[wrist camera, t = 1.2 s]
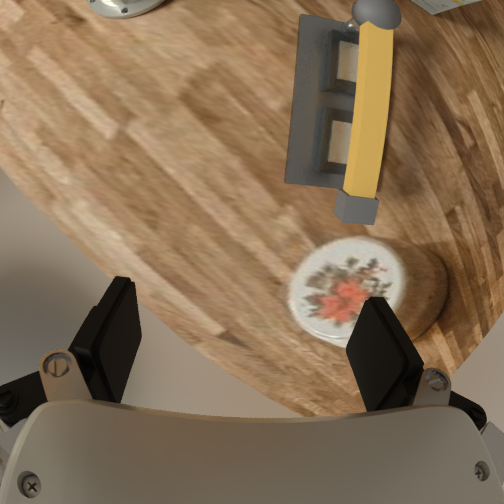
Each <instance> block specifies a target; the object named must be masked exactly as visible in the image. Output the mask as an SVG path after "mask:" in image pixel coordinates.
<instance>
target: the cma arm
mask: <svg viewBox="0 0 504 504" xmlns="http://www.w3.org/2000/svg"><path fill="white" fill-rule="evenodd" d="M352 15H353V18H354V20H355V22H356V23H357V24H358V25H359V26H360V37H359V56H358V71H357V83H356V94H355V104H354V114H353V122H352V131H351V139H350V146H349V153H348V160H347V167H346V173H345V180H344V186H343V189H338V193H337V199H336V205H335V210H334V214H335V215H336V216H337V217H338V218H339V219H340V221H341V222H345V223H356V224H366V225H374V222H375V217H376V213H377V208H378V204H379V200H378V199H377V198H376V197H375V194H376V189H377V183H378V178H379V172H380V166H381V160H382V154H383V148H384V141H385V133H386V126H387V118H388V109H389V99H390V88H391V74H392V57H393V29H394V28H396V27H398V26H399V24H400V23H401V12H400V9H399V7H398V6H397V4H396V3H395V2H394V1H393V0H357V1H356V2H355V3H354V4H353V6H352Z"/></svg>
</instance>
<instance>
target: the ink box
mask: <svg viewBox="0 0 504 504" xmlns="http://www.w3.org/2000/svg"><path fill="white" fill-rule="evenodd" d="M411 1H412V2H414V3H415V4H417V5H418V6H420V7H421V8H423V9H424V10H426V11H427V12H428V13H430V14H431V15H434V14H437V13H440V12H444V11H447V10H450V9H453V8H456V7H459V6H463V5H467V4H470V3H474V2H478V1H482V0H411Z"/></svg>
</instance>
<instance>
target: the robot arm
mask: <svg viewBox="0 0 504 504" xmlns="http://www.w3.org/2000/svg"><path fill="white" fill-rule="evenodd" d="M164 1H165V0H87V3H88V5H89V7H90V8H91V9H92V11H94V12H95V13H97V14H99V15H101V16H103V17H105V18H110V19H124V18H130V17H134V16H138V15H140V14H143V13H145V12H148V11H149V10H151V9H153V8H155V7H157V6H158V5H160V4H161V3H162V2H164ZM127 11H128V12H127ZM126 12H127V13H126ZM141 337H142V334H141V326H140V319H139V313H138V304H137V296H136V288H135V283H134V282H131V279H130V278H129V277H120V276H116V277H115V278H114V279H113V281H112V283H111V284H110V286H109V287H108V289H107V290H106V292H105V294H104V295H103V297H102V299H101V300H100V302H99V303H98V305H97V306H94V307H93V308H92V309H91V311H90V312H89V314H88V316H87V317H86V319H85V321H84V322H83V324H82V326H81V327H80V329H79V331H78V333H77V334H76V336H75V338H74V340H73V342H72V343H71V345H70V347H69V349H68V351H67V350H64V349H56V350H52V351H50V352H48V353H46V354H45V355H44V356H43V357H42V359H41V360H40V363H39V371H37V372H34V373H32V374H29V375H27V376H24V377H22V378H19V379H17V380H14V381H12V382H9V383H6V384H4V385H2V386H0V504H504V491H503V488H502V484H503V482H504V433H503V432H502V431H501V430H499V429H498V428H497V427H496V426H495V425H494V424H493V423H491V422H490V421H489V422H488V423H487V417H486V413H485V411H484V410H483V408H482V407H481V406H480V405H478V404H476V403H474V402H473V401H471V400H469V399H467V398H465V397H463V396H461V395H459V394H457V393H455V392H453V391H451V381H450V379H449V377H448V376H447V374H445V373H444V372H443V371H441V370H440V369H437V368H427V369H426V370H424V369H423V365H424V362H423V360H422V358H421V357H420V355H419V353H418V352H417V350H416V348H415V346H414V345H413V343H412V341H411V340H410V338H409V336H408V335H407V333H406V332H405V330H404V328H403V327H402V325H401V323H400V322H399V320H398V319H397V317H396V315H395V314H394V312H393V311H392V309H391V308H390V306H389V305H388V303H387V301H386V300H385V299H384V297H370V298H369V299H368V300H366V301H365V302H364V305H363V307H362V310H361V312H360V315H359V317H358V320H357V322H356V325H355V327H354V330H353V332H352V334H351V337H350V339H349V341H348V344H347V346H346V354H347V357H348V359H349V362H350V365H351V367H352V370H353V373H354V376H355V378H356V381H357V384H358V387H359V390H360V393H361V395H362V398H363V401H364V404H365V407H366V410H367V412H363V413H355V414H346V415H335V416H321V417H303V418H240V417H221V416H206V415H196V414H186V413H178V412H170V411H163V410H156V409H149V408H143V407H136V406H131V405H126V404H120V403H121V400H122V396H123V393H124V390H125V387H126V383H127V380H128V377H129V374H130V371H131V368H132V365H133V362H134V359H135V356H136V353H137V350H138V348H139V345H140V341H141Z"/></svg>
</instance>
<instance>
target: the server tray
mask: <svg viewBox="0 0 504 504" xmlns="http://www.w3.org/2000/svg"><path fill="white" fill-rule="evenodd" d="M359 37H360V26H359V25H358V24H357V23H356V22H355V20H354V18H353V17H352V18H351V19H350V20H348V21H347V22H346V23H343V22H339V21H335V20H331V19H326V18H321V17H316V16H311V15H305V14H301V15H300V16H299V28H298V42H297V54H296V67H295V78H294V89H293V100H292V111H291V121H290V131H289V141H288V151H287V160H286V170H285V179H284V182H285V183H290V184H300V185H310V186H320V187H328V188H337V189H343V186H344V180H345V173H346V167H347V160H348V153H349V146H350V139H351V131H352V122H353V114H354V104H355V94H356V83H357V71H358V56H359Z"/></svg>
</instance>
